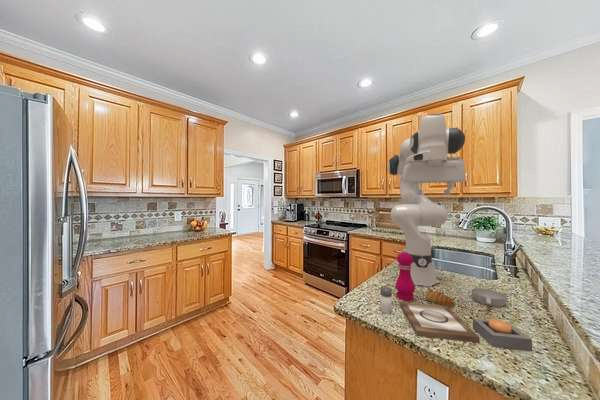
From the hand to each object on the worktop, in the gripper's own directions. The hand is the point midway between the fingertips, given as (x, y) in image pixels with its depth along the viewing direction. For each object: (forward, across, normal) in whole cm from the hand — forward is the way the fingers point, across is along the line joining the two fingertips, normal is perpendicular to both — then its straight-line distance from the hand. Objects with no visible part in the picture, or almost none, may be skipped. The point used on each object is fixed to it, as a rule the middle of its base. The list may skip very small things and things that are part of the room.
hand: (432, 195), depth 79 cm
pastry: (+42, -5, -9) cm, 44 cm away
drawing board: (+42, +3, +8) cm, 43 cm away
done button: (+40, -12, +14) cm, 44 cm away
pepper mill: (+42, +7, -10) cm, 44 cm away
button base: (+42, -12, +14) cm, 46 cm away
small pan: (+42, -23, -10) cm, 49 cm away
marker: (+42, +17, +4) cm, 46 cm away
